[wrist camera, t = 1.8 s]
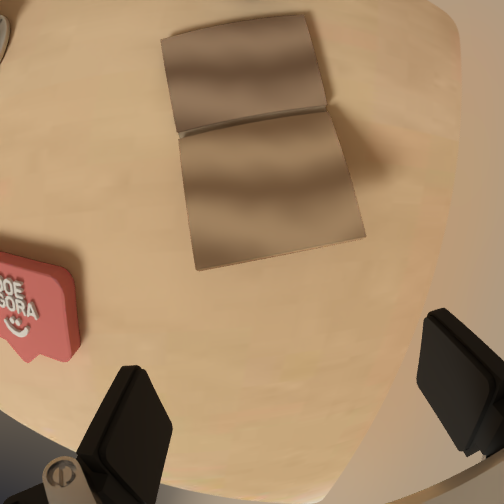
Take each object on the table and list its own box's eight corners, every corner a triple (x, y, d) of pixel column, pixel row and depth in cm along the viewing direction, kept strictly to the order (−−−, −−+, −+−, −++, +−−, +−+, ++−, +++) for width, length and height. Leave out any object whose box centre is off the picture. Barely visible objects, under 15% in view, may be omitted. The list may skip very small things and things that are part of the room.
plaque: (-16, 346, 30) (-35, 252, 26) (-3, 334, 34) (-18, 244, 30) (75, 384, 31) (60, 280, 27) (86, 368, 35) (76, 268, 31)
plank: (181, 145, 27) (178, 139, 26) (326, 118, 27) (328, 111, 25) (199, 271, 25) (195, 270, 24) (362, 239, 25) (366, 236, 24)
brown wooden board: (163, 43, 24) (160, 39, 23) (301, 19, 23) (303, 14, 22) (181, 141, 27) (178, 140, 26) (325, 114, 26) (329, 112, 25)
